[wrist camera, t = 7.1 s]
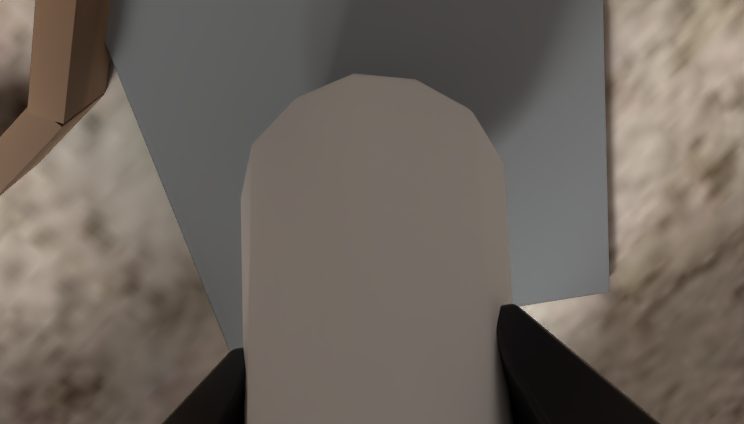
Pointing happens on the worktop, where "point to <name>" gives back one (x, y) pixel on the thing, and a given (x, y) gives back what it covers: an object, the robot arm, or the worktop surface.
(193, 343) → the worktop surface
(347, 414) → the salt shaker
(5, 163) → the holder ring
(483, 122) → the mat
